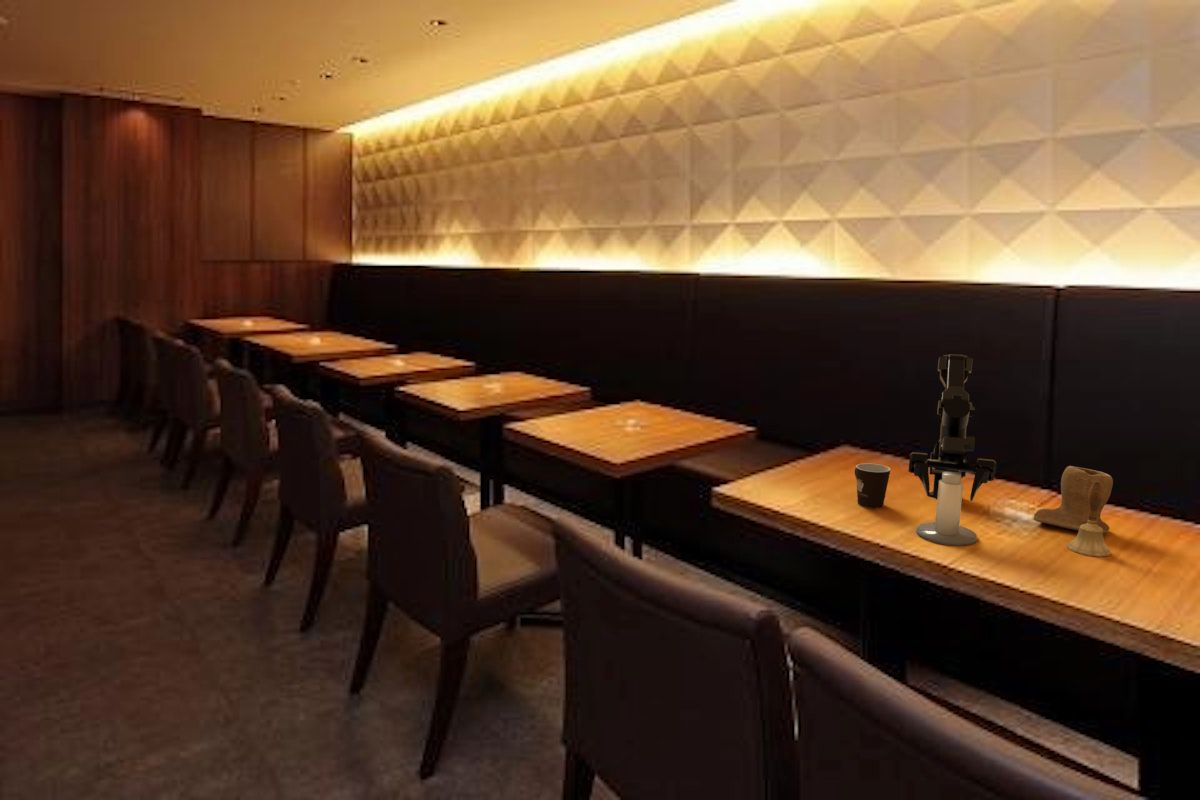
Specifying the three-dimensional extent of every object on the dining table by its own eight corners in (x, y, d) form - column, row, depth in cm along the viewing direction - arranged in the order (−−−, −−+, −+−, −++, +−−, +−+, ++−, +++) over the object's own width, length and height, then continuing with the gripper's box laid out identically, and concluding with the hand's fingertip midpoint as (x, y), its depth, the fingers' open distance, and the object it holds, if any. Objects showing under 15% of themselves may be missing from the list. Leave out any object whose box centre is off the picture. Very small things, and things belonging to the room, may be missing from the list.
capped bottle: (947, 526, 188) (952, 470, 185) (963, 534, 183) (969, 476, 180) (929, 529, 186) (934, 471, 184) (945, 536, 181) (950, 477, 179)
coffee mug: (890, 510, 203) (893, 473, 201) (855, 508, 204) (857, 471, 202) (883, 497, 214) (886, 461, 212) (850, 495, 215) (852, 459, 214)
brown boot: (1113, 528, 191) (1121, 468, 188) (1104, 541, 182) (1112, 478, 179) (1043, 514, 201) (1050, 457, 198) (1031, 526, 192) (1038, 466, 189)
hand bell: (1059, 543, 180) (1067, 476, 177) (1093, 543, 181) (1102, 476, 178) (1083, 557, 172) (1092, 487, 169) (1119, 556, 173) (1129, 486, 170)
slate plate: (932, 522, 194) (932, 518, 193) (986, 537, 184) (986, 532, 184) (905, 534, 185) (906, 530, 185) (960, 550, 176) (961, 545, 175)
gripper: (912, 419, 188) (907, 475, 180) (999, 426, 181) (998, 485, 173) (910, 444, 196) (906, 498, 188) (993, 451, 189) (992, 509, 182)
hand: (949, 497), depth 183 cm, fingers open, 9 cm apart
